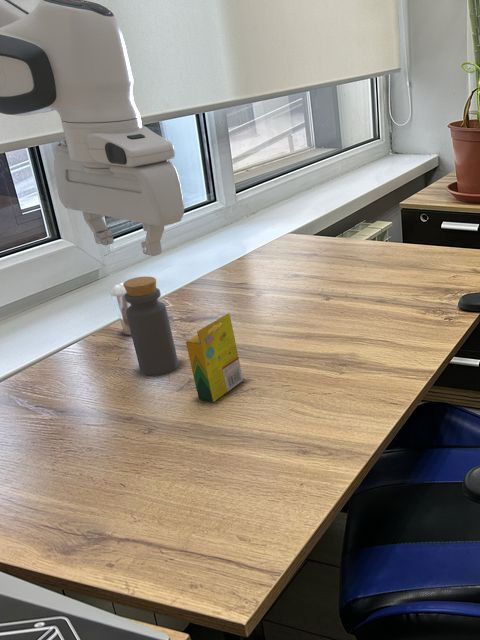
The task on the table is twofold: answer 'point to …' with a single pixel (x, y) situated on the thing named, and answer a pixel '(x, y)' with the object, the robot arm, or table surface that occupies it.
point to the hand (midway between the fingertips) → (128, 249)
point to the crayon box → (214, 359)
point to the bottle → (150, 327)
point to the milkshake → (121, 305)
